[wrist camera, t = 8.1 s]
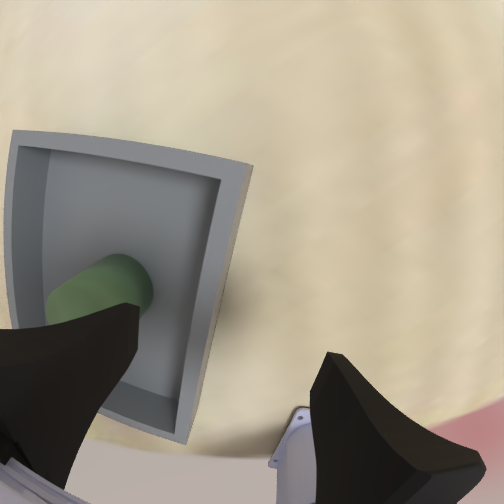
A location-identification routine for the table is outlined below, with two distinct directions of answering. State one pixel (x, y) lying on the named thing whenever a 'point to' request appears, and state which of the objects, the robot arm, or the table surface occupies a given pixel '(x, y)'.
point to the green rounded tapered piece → (101, 289)
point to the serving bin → (128, 252)
